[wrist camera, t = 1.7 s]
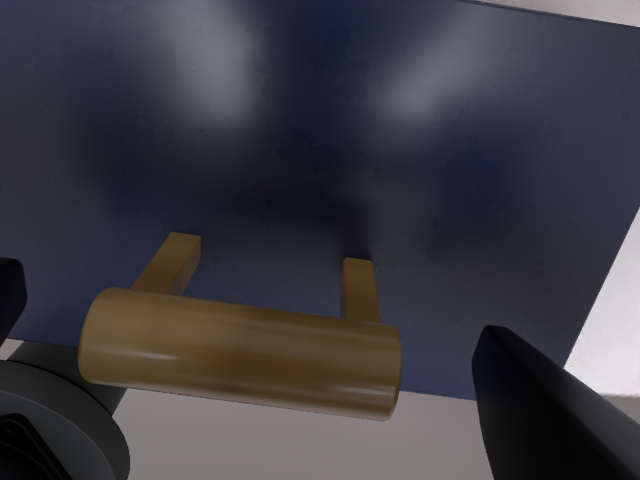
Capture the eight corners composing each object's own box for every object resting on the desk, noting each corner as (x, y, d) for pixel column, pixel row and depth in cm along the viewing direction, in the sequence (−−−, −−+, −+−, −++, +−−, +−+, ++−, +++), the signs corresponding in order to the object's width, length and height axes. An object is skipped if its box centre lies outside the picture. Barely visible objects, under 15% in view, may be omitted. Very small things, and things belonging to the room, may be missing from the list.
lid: (533, 390, 14) (629, 577, 9) (-18, 315, 13) (-203, 475, 9) (692, 37, 10) (1008, 64, 5) (-102, -91, 9) (-539, -191, 5)
